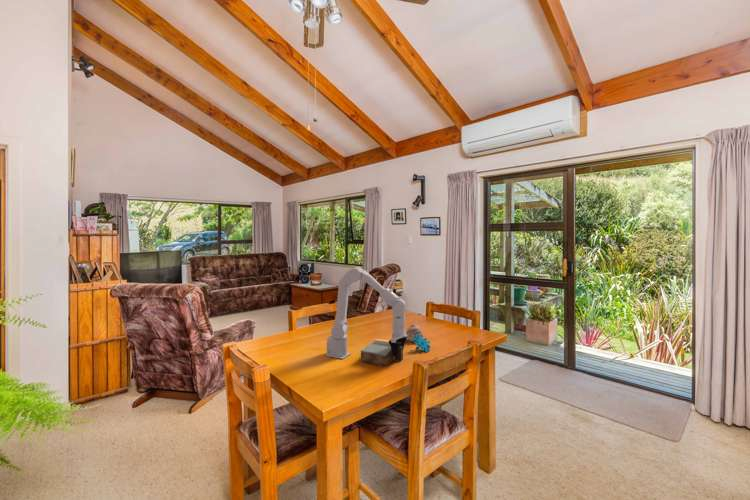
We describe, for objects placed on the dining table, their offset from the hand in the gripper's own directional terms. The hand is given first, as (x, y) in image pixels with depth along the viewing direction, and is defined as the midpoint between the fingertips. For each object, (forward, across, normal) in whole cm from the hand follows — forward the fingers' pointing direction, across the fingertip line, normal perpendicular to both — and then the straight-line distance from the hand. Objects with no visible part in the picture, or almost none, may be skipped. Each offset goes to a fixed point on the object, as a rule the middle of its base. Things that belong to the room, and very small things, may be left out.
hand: (398, 353), depth 166 cm
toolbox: (+3, -3, +8) cm, 10 cm away
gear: (+3, +18, -7) cm, 20 cm away
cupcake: (+3, +31, +2) cm, 31 cm away
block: (+3, 0, 0) cm, 3 cm away
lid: (-2, -3, +8) cm, 9 cm away
